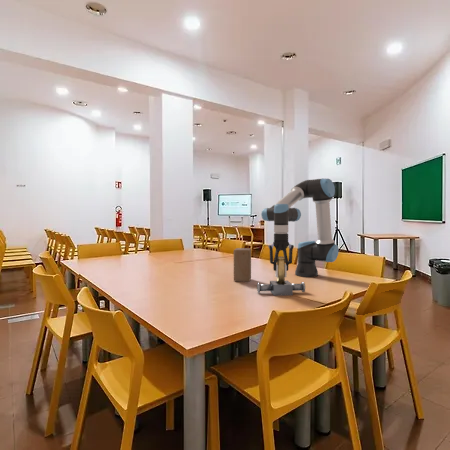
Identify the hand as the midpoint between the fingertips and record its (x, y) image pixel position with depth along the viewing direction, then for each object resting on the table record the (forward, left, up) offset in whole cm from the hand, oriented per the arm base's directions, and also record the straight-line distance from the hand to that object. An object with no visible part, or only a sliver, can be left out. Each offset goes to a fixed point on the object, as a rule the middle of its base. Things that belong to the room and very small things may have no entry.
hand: (280, 276), depth 165 cm
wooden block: (+17, -33, -9) cm, 38 cm away
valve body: (0, 0, -9) cm, 9 cm away
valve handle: (0, 0, -4) cm, 4 cm away
